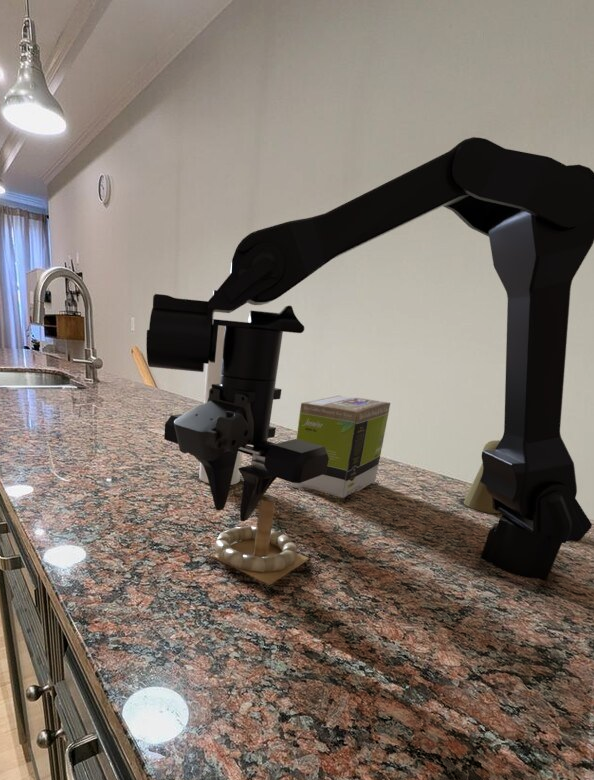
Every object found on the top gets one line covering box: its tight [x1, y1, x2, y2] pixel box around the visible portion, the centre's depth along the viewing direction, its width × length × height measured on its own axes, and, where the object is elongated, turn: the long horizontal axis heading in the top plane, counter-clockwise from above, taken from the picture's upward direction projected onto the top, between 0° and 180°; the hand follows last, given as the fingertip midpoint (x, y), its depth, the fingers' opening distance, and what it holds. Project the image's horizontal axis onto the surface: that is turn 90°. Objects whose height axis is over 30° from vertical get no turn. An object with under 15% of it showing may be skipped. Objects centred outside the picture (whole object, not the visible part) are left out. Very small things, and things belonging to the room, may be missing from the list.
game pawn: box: [463, 440, 501, 514], centre depth 73 cm, size 6×6×11 cm
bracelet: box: [214, 525, 298, 572], centre depth 51 cm, size 9×9×2 cm
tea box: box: [290, 395, 391, 499], centre depth 77 cm, size 15×10×15 cm
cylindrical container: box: [198, 325, 243, 486], centre depth 74 cm, size 7×7×25 cm
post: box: [210, 495, 310, 586], centre depth 49 cm, size 8×8×8 cm
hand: (231, 515), depth 52 cm, fingers open, 3 cm apart
